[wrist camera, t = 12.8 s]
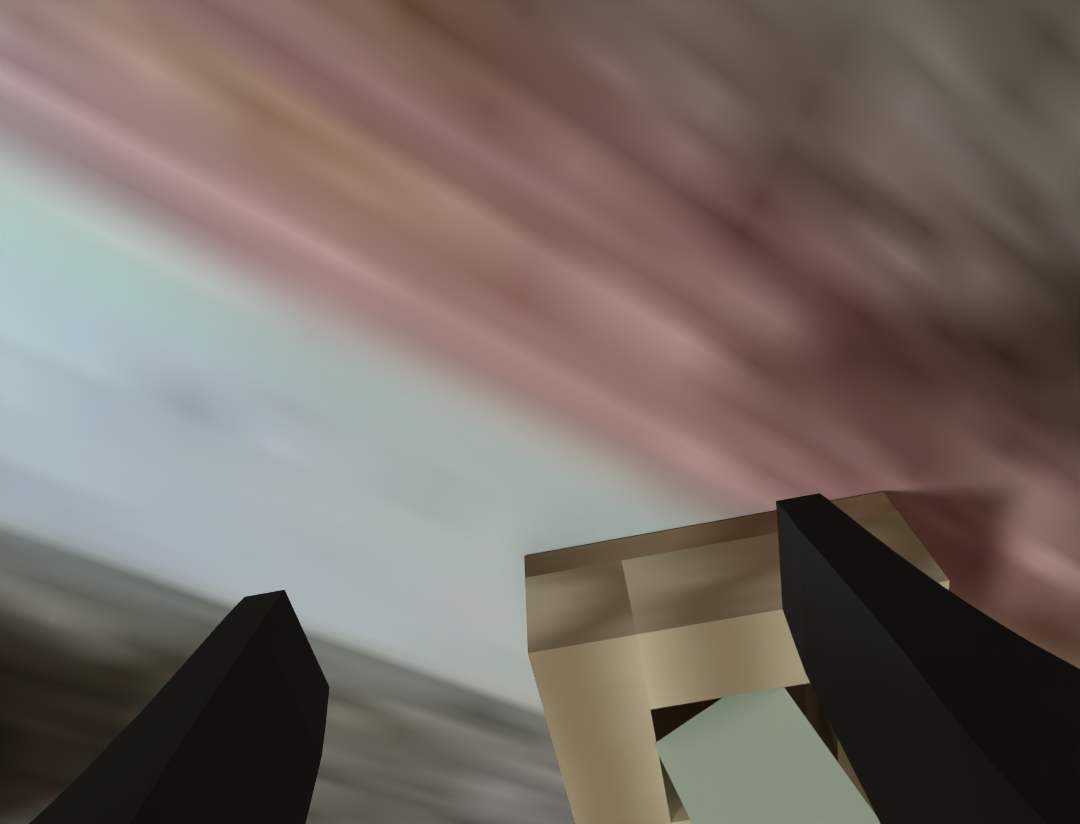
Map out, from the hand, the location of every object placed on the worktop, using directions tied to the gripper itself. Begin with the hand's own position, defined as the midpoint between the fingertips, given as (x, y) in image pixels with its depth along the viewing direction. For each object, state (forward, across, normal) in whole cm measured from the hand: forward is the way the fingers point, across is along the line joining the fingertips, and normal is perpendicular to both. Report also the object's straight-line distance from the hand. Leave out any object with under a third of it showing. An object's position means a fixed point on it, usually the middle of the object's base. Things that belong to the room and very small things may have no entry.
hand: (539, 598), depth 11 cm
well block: (+10, -4, +13) cm, 17 cm away
